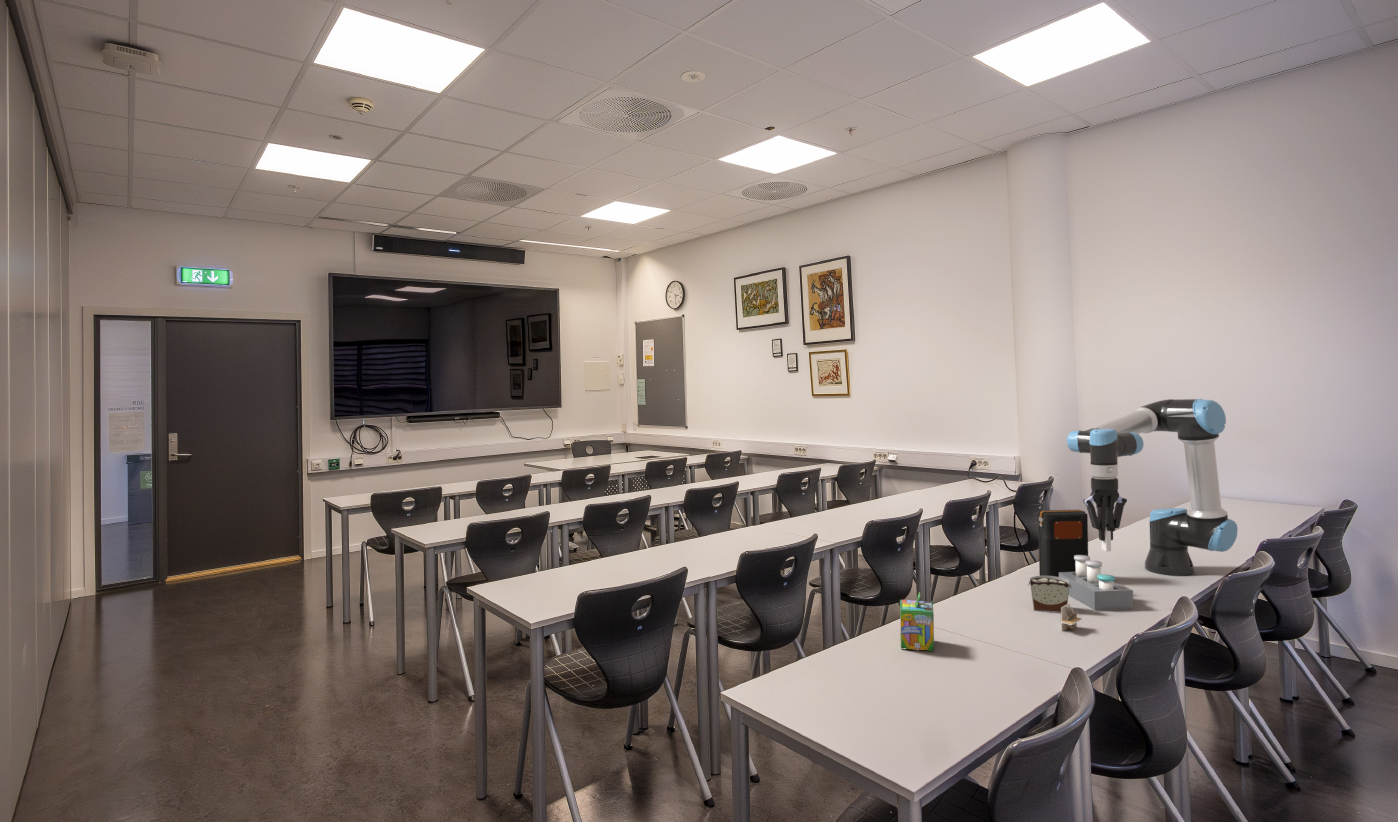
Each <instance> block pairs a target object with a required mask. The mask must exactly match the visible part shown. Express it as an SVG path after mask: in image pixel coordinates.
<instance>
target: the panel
mask: <svg viewBox="0 0 1398 822" xmlns="http://www.w3.org/2000/svg"><path fill="white" fill-rule="evenodd" d="M1059 577H1060V578H1064V579H1066V580H1068V581H1069V582H1070V584H1071V587H1072V588H1070V587H1069V595H1070V596H1069V597H1072V598H1073V599H1075V601H1076V600H1077V601H1079V602H1080V603H1081V602H1082V604H1083V605H1085V606H1087V607H1089V608H1090V609H1092V610H1094V611H1109V610H1111V611H1113V610H1114V611H1115V610H1133V609H1134V590H1133V589H1131V588H1129V587H1128V586H1125V585H1124V584H1121V583H1120V582H1117V581H1116V580H1115V581H1113V586H1114V589H1109V590H1103V589H1101V588H1099V583H1089V582H1087V577H1077V576H1076V572H1059Z"/></svg>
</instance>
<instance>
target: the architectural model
mask: <svg viewBox="0 0 1398 822" xmlns="http://www.w3.org/2000/svg"><path fill="white" fill-rule="evenodd" d="M1077 616H1078V612H1077V611H1076V612H1075V611H1074V609H1073V608H1072V606H1071V603H1069V602H1068V604H1067V605H1065V606H1063V607H1061V613H1060V617H1061V618H1060V624H1061V628H1060V629H1061V632H1063V631H1065V630H1067V629H1070V630H1071V629H1072V630H1074V629H1075V628H1076V629H1077V628H1078V623H1079V622H1080V621H1082V620H1083V618H1081V617H1077Z"/></svg>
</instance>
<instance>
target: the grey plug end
mask: <svg viewBox="0 0 1398 822" xmlns="http://www.w3.org/2000/svg"><path fill="white" fill-rule="evenodd" d="M1074 560H1075V562H1076V576H1077V577H1087V565H1085V561H1087V560H1091V557H1090V556H1089V555H1088V556H1086V555H1075V556H1074Z"/></svg>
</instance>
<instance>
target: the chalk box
mask: <svg viewBox="0 0 1398 822" xmlns="http://www.w3.org/2000/svg"><path fill="white" fill-rule="evenodd" d="M899 610H900V611H899V612H900V613H899V615H900V617H899V619H900V620H899V622H900V624H899V625H900V628H899V629H900V630H899V631H900V632H899V633H900V634H899V635H900V649H901V648H906V649H916V650H915V651H919V650H928V651H927V652H931V651H934V652H935V637H934V636H935V633H934V632H935V628H934V627H935V626H934V622H935V621H934V620H935V619H934V616H935V615H934V603H933V601H926V600H921V592H920V591H919V592H918V595H917V598H916V600H915V599H914V600H913V599H912V600H910V599H900V600H899ZM906 649H905V650H906ZM917 649H918V650H917Z"/></svg>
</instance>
